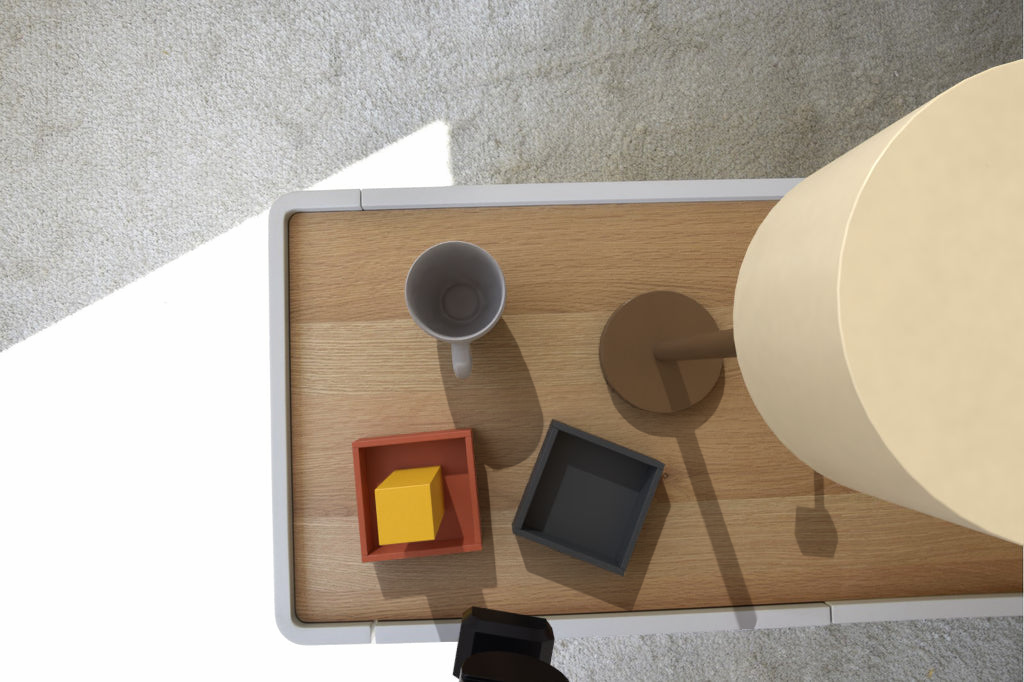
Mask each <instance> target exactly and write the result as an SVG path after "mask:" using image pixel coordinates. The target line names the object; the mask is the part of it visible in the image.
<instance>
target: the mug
mask: <svg viewBox="0 0 1024 682" xmlns="http://www.w3.org/2000/svg"><path fill="white" fill-rule="evenodd" d="M507 295H508V289H507V282H506V277H505V274H504V272H503V270H502V268H501V266H500V264H499V263H498V261H497V260H496V259H495V258H494V256H493V255H492V254H491V253H490V252H488V251H487V250H486V249H484V248H483V247H481V246H479V245H477V244H474V243H471V242H467V241H463V240H448V241H444V242H439V243H438V244H437V243H436V244H435V245H432V246H431V247H429V248H427V249H426V250H424V251H423V252H422V253H421V254H419V256H418V257H416V259H415V260H414V262H413V263H412V265H410V268H409V270H408V273H407V276H406V279H405V283H404V299H405V305H406V307H407V310H408V313H409V315H410V316H411V318H412V320H413V321H414V323H415V324H416V325H417V326H418V328H420V330H422V331H423V332H424V333H425V334H427V335H428V336H430V337H432V338H434V339H436V340H439V341H441V342H445V343H447V344H450V349H451V364H452V370H453V372H454V376H455V377H456V378H457V379H459V380H463V379H464V380H465V379H469V378H470V377H471V376H472V370H473V355H472V351H471V343H472V342H473V341H475V340H477V339H479V338H480V339H481V338H482V337H483V336H485V335H486V334H488V332H490V331H491V330H492V329H493V328H494V327H495V326H496V324H497V323H498V322H499V320H500V319H501V316H502V314H503V312H504V310H505V306H506V304H507V303H506V302H507Z"/></svg>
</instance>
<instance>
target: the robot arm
mask: <svg viewBox="0 0 1024 682" xmlns="http://www.w3.org/2000/svg"><path fill="white" fill-rule="evenodd" d="M554 633H555V632H554V629H553V627H552V625H551V624H550V622H549V621H548V620H547V618H545V617H540V616H534V615H526V614H522V613H515V612H510V611H504V610H499V609H493V608H486V607H481V606H474V605H472V606H470V607H469V608H468V609H466V610H465V611H463V612H462V616H461V621H460V627H459V633H458V637H457V638H458V639H457V645H456V650H455V655H454V656H455V657H454V662H453V663H454V664H453V669H452V676H453V677H454V678H456V679H457V680H458V682H570V680H569V678H568V677H567V676H566V675H565V674H564V673H563V672H562V671H561V670H560V669H558V668H557V667H555V666H553V664H552V657H553V652H554V647H555V639H556V638H555V634H554Z"/></svg>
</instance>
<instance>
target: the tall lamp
mask: <svg viewBox="0 0 1024 682" xmlns="http://www.w3.org/2000/svg"><path fill="white" fill-rule="evenodd" d="M736 280H737V281H736V285H735V290H734V298H733V310H732V324H733V325H732V326H733V328H728V329H722V330H721V329H720V328H719V326H718V324H717V322H716V320H715V319H714V317H713V316H712V314H711V313H710V312H709V311H708V310H707V309H706V307H704V306H703V305H702V304H701V303H700V302H698V301H697V300H696V299H693V298H692V297H690V296H688V295H685V294H683V293H681V292H676V291H673V290H653V291H647V292H644V293H641V294H638V295H636V296H634V297H632V298H630V299H629V300H626V301H625V302H623V303H622V304H620V306H618V307H617V308H616V309H615V311H613V312H612V313H611V315H610V316H609V318H608V320H607V321H606V323H605V325H604V326H603V329H602V331H601V335H600V339H599V344H598V359H599V365H600V369H601V372H602V375H603V377H604V379H605V381H606V383H607V384H608V386H609V388H610V389H611V390H612V391H613V392H614V394H616V396H618V397H619V398H620V399H621V400H623V401H624V402H625V403H626V404H629V405H630V406H632V407H635V408H636V409H639V410H642V411H646V412H649V413H650V412H651V413H656V414H671V413H677V412H681V411H682V410H686V409H689V408H690V407H693V406H694V405H697V404H698V403H699V402H700V401H702V400H703V399H704V398H706V396H707V395H708V394H709V393H710V392H711V390H712V389H713V387H714V386H715V384H716V383H717V381H718V379H719V377H720V374H721V371H722V368H723V363H724V359H733V358H737V362H738V366H739V369H740V373H741V375H742V379H743V382H744V385H745V388H746V389H747V391H748V393H749V396H750V398H751V400H752V403H753V404H754V406H755V407H756V409H757V411H758V413H759V414H760V416H761V418H762V419H763V421H764V422H765V424H766V425H767V427H768V428H769V430H771V432H772V433H773V434H774V435H775V436H776V437H777V439H778V440H779V441H780V442H781V444H783V446H785V447H786V448H787V449H788V450H789V451H790V452H791V453H792V454H793V455H794V456H795V457H796V458H797V459H798V460H799V461H801V462H803V464H805V465H806V466H808V467H810V468H811V469H812V470H814V471H815V472H816V473H818V474H819V475H821V476H823V477H825V478H827V479H829V480H831V481H832V482H834V483H836V484H838V485H840V486H843V487H845V488H848V489H851V490H853V491H856V492H859V493H861V494H864V495H867V496H870V497H873V498H876V499H879V500H883V501H885V502H889V503H892V504H894V505H897V506H900V507H904V508H906V509H910V510H912V511H915V512H918V513H919V512H920V513H922V514H924V515H928V516H930V517H933V518H938V519H940V520H943V521H946V522H949V523H952V524H954V525H958V526H960V527H964V528H966V529H970V530H973V531H976V532H979V533H983V534H985V535H988V536H991V537H993V538H996V539H999V540H1004V541H1007V542H1009V543H1012V544H1015V545H1019V546H1022V547H1024V58H1022V59H1017V60H1015V61H1011V62H1007V63H1003V64H999V65H997V66H992V67H990V68H988V69H985V70H984V71H983V70H982V71H980V72H979V73H976V74H974V75H972V76H970V77H968V78H965V79H963V80H961V81H960V82H958V83H955V85H953V86H951V87H950V88H948V89H946V90H945V91H943V92H942V93H940V94H938V95H937V96H935V97H933V98H932V99H930V100H929V101H926V102H925V103H924V104H922V105H921V106H919V107H917V108H916V109H914V110H912V111H910V112H909V113H908V114H906V115H904V116H903V117H901V118H900V119H898V120H896V121H895V122H892V124H890V125H888V126H887V127H885V128H883V129H882V130H880V131H879V132H877V133H876V134H874V135H873V136H871V137H869V138H868V139H866V140H864V141H863V142H861V143H859V144H858V145H857V146H855V147H853V148H851V149H850V150H848V151H847V152H845V153H844V154H842V155H840V156H839V157H837V158H836V159H834V160H832V161H831V162H829V163H828V164H826V165H824V166H823V167H821V168H820V169H818V170H816V171H815V172H813V173H812V174H810V175H808V176H807V177H806V178H804V179H803V180H801V181H800V182H799V183H797V184H796V185H795V186H794V187H793V188H791V189H790V190H789V191H787V193H786V194H785V195H783V197H782V198H781V199H780V200H779V201H778V202H777V203H776V204H775V205H774V206H773V207H772V208H771V210H770V211H769V213H768V214H767V215H766V216H765V218H764V219H763V220H762V222H761V223H760V225H759V226H758V228H757V230H756V232H755V234H754V236H753V237H752V239H751V241H750V243H749V245H748V247H747V250H746V253H745V255H744V258H743V260H742V263H741V266H740V269H739V273H738V276H737V279H736Z"/></svg>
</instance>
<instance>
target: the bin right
mask: <svg viewBox="0 0 1024 682" xmlns="http://www.w3.org/2000/svg"><path fill="white" fill-rule="evenodd" d="M665 467H666V464H665V463H664V462H662V461H660V460H658V459H657V458H654V457H651V456H648V455H647V454H644V453H641V452H639V451H636V450H633V449H631V448H629V447H626V446H624V445H621V444H618V443H616V442H612V441H610V440H608V439H605V438H603V437H600V436H598V435H595V434H593V433H590V432H587V431H585V430H582V429H580V428H577V427H575V426H573V425H570V424H567V423H565V422H562V421H559V420H557V419H554V418H552V419H551V420H550V423H549V426H548V428H547V431H546V433H545V436H544V439H543V442H542V444H541V447H540V448H539V452H538V455H537V457H536V460H535V463H534V465H533V467H532V470H531V473H530V474H529V475H530V476H529V478H528V480H527V483H526V486H525V488H524V491H523V494H522V496H521V499H520V501H519V505H518V506H517V509H516V512H515V514H514V517H513V520H512V522H511V531H512V534H513V535H516V536H518V537H520V538H523V539H526V540H528V541H531V542H534V543H536V544H539V545H541V546H544V547H546V548H549V549H551V550H554V551H556V552H560V553H562V554H564V555H567V556H569V557H572V558H575V559H576V560H579V561H582V562H585V563H587V564H590V565H592V566H595V567H597V568H600V569H603V570H605V571H608V572H610V573H614V574H615V575H618V576H621V577H624V576H625V574H626V571H627V569H628V567H629V563H630V561H631V558H632V555H633V553H634V550H635V547H636V544H637V541H638V539H639V536H640V534H641V532H642V529H643V526H644V523H645V521H646V517H647V515H648V512H649V509H650V507H651V504H652V502H653V499H654V496H655V493H656V491H657V488H658V486H659V483H660V480H661V478H662V474H663V472H664V470H665Z"/></svg>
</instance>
